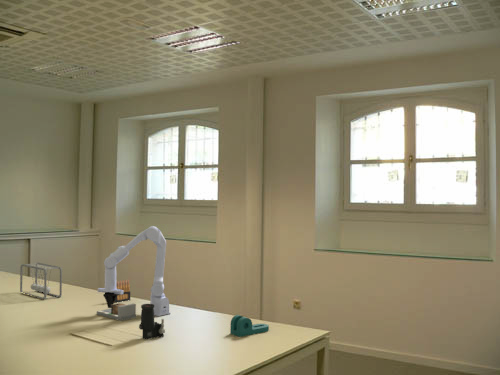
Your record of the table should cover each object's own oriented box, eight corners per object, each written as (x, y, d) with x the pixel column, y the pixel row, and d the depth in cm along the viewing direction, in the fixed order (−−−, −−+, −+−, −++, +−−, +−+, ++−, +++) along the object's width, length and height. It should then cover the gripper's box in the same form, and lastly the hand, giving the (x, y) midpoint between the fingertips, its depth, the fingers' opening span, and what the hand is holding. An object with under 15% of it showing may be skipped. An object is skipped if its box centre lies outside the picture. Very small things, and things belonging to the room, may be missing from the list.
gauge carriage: (125, 312, 261) (125, 303, 261) (114, 315, 256) (114, 305, 256) (119, 311, 265) (119, 302, 265) (108, 313, 260) (108, 304, 260)
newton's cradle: (19, 293, 317) (20, 263, 317) (36, 291, 325) (37, 262, 325) (44, 300, 297) (45, 268, 298) (61, 297, 305) (62, 267, 306)
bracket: (239, 337, 226) (239, 319, 226) (230, 334, 232) (230, 316, 232) (271, 331, 237) (272, 313, 237) (262, 327, 243) (262, 310, 243)
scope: (165, 304, 225) (145, 308, 218) (165, 337, 225) (145, 341, 217) (154, 301, 230) (134, 304, 223) (153, 333, 230) (134, 337, 223)
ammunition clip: (114, 303, 293) (114, 281, 293) (112, 302, 294) (112, 280, 294) (130, 300, 301) (130, 279, 301) (128, 299, 302) (128, 278, 302)
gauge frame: (136, 317, 259) (136, 304, 259) (120, 320, 252) (121, 307, 252) (111, 311, 272) (112, 298, 272) (96, 314, 265) (96, 301, 265)
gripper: (127, 280, 267) (127, 307, 266) (104, 278, 272) (103, 304, 272) (118, 282, 260) (118, 310, 260) (94, 280, 266) (94, 307, 266)
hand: (110, 307), depth 266 cm, fingers closed
